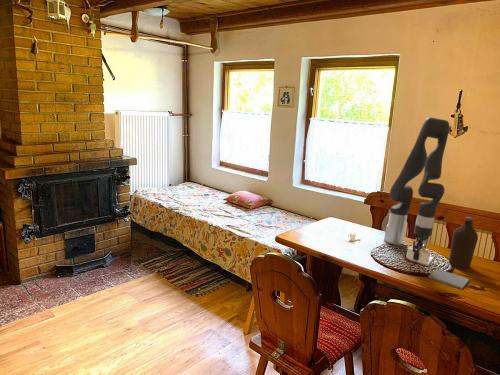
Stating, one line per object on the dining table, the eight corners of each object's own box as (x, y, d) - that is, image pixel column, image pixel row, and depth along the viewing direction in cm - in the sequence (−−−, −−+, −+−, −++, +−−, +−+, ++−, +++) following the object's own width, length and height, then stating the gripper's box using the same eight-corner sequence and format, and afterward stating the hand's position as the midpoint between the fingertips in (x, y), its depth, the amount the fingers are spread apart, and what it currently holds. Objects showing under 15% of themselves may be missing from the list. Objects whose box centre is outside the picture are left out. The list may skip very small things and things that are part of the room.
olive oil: (461, 271, 179) (472, 222, 173) (442, 262, 188) (452, 215, 182) (475, 268, 183) (487, 220, 177) (456, 259, 193) (466, 213, 187)
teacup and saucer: (359, 239, 213) (360, 232, 212) (362, 244, 205) (363, 237, 204) (343, 237, 213) (344, 231, 212) (345, 242, 206) (346, 235, 205)
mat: (428, 277, 169) (428, 275, 169) (436, 270, 178) (436, 268, 178) (461, 289, 160) (462, 287, 160) (468, 280, 169) (469, 279, 169)
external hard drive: (409, 262, 187) (416, 255, 196) (427, 267, 182) (433, 260, 191) (410, 258, 186) (417, 252, 196) (427, 264, 181) (434, 257, 191)
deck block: (406, 257, 178) (407, 247, 177) (409, 255, 181) (411, 245, 180) (425, 264, 172) (427, 254, 171) (428, 261, 175) (430, 251, 174)
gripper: (421, 219, 180) (414, 252, 184) (410, 225, 170) (403, 259, 174) (437, 223, 175) (430, 257, 179) (427, 230, 165) (420, 265, 169)
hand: (417, 258), depth 177 cm, fingers closed on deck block, 4 cm apart
